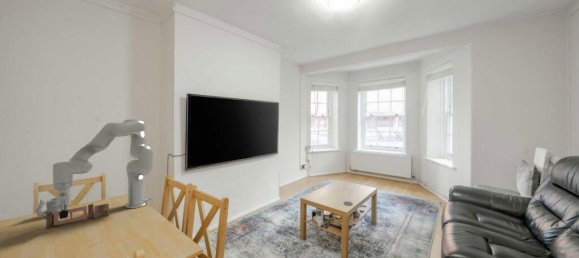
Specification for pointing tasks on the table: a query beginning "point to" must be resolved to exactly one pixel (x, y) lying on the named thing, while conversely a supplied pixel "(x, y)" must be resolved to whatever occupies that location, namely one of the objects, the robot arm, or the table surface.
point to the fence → (96, 213)
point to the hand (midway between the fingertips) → (63, 217)
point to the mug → (50, 207)
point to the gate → (71, 215)
